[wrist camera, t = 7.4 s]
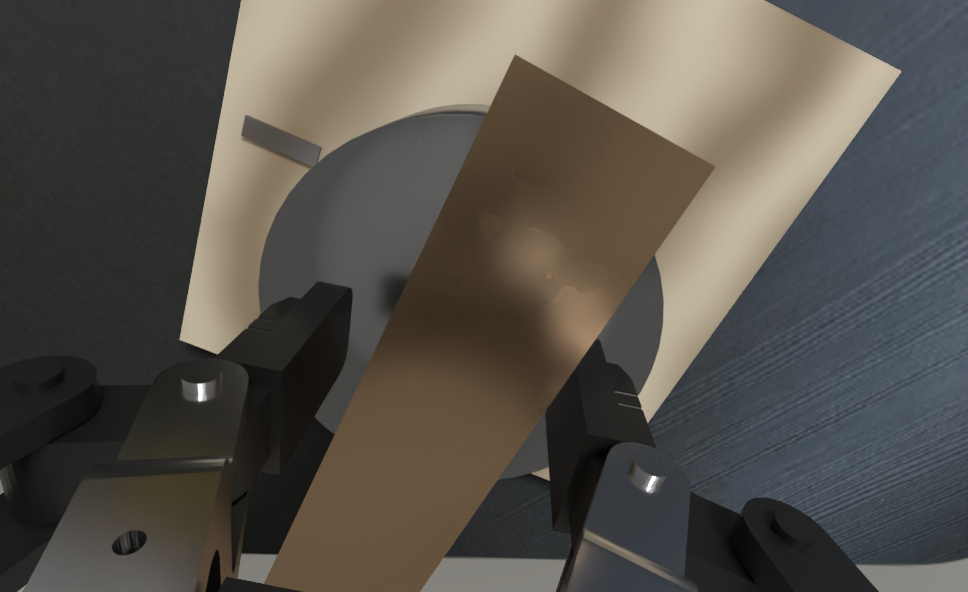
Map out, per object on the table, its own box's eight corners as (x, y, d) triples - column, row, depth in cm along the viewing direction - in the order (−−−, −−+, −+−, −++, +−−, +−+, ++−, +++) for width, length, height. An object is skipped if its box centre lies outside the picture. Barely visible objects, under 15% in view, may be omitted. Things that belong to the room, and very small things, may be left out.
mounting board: (873, 71, 18) (905, 71, 17) (590, 476, 27) (594, 500, 26) (306, -220, 16) (283, -251, 15) (198, 325, 25) (177, 341, 24)
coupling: (429, 14, 17) (246, -97, 6) (674, 151, 18) (922, 282, 7) (313, 309, 22) (94, 560, 11) (512, 400, 23) (503, 710, 12)
